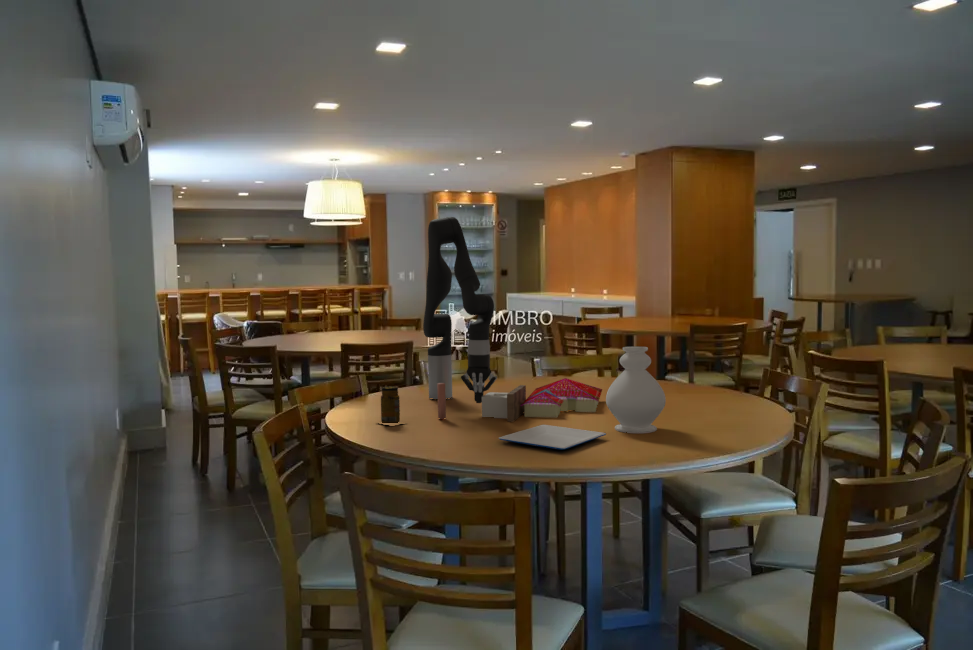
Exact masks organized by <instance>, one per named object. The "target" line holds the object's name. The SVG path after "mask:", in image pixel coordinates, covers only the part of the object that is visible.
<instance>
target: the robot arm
mask: <svg viewBox="0 0 973 650" xmlns="http://www.w3.org/2000/svg"><path fill="white" fill-rule="evenodd" d="M427 240H428V242H427V243H428V245H427V246H428V260H427V261H428V264H427V273H426V274H427V275H426V295H425V296H426V298H425V299H426V301H425V309H424V316H423V326H422V327H423V328H422V331H423V334H424V335H425V337H426V338H430V339H431V338H432V339H433V338H442V339H441V340H440V342H438V343H437V344H435V345H432V346H430V347H429V346H428V347H429V348H427V370H428V371H427V373H428V374H427V375H428V377H427V378H428V399H429V398H433V399H438V389H437V384H438V383H445V398H451V397H452V398H453V367H452V366H453V365H452V363H453V361H452V327H453V326H452V324H453V323H452V317H451V315H450V314H449V313H436V311H437V309H438V308H439V306H440V305H441V303H443V301H444V300H445V299H446V298H447V296H448V295H449V294H450V291H451V290H452V282H453V281H452V280H453V273H452V269H451V268H450V266H449V264H448V263H447V262H446V260H445V259H444V258H443V255H442V253H441V249H442V247H441V246H442V245H447V244H454V246H455V248H456V256H455V260H454V266H453V272H454V276H455V279H456V281H457V283H458V285H459V288H460V293H461V299H462V307H463V309H464V311H465V312H466V314H468V315H470V316H477V318H476V320H475V321H473V322H471V323H469V325H468V342H467V343H468V345H467V369H466V373H464V374H463V375H461V376H460V379H461V381H462V382H463V384H465V386H466V387H467V389H468V390H469V391H472V392H474V400H473V401H474V402H475V403H476V404H482V396H484V392H487V391H489V389H490V388H491V387H492V386H493V384H494V383H495V382H496V380H497V379H498V376H497V375H494V374H493V373H492V370H491V346H490V345H491V344H490V326H491V323H492V319H493V315H494V311H495V303H494V300H493V298H492V296H490V295H489V294H486V293H485V294H484V293H483V294H479V293H478V294H476V292H477V291H478V290H479V289H480V288H481V282H480V278H479V277H478V274H477V272H476V271H475V269H474V266H473V263H472V260H471V257H470V253H469V249H468V246H467V241H466V239H465V236H464V231H463V228H462V226H461V224H460V222H459V220H458V218H456V217H455V216H447V217H442V218H435V219H433V220H432V219H431V220H430V221H429V224H428V229H427ZM488 379H489V381H488V383H487V384H486V385H485V382H487V380H488ZM471 381H472V382H471ZM452 398H451V399H452Z"/></svg>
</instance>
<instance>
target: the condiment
mask: <svg viewBox="0 0 973 650" xmlns="http://www.w3.org/2000/svg"><path fill="white" fill-rule="evenodd" d="M400 401H401V400H400V395H399V388H398V386H393V385H391V386H382V387H381V396H380V418H381V419H380V421H381V422H382V423H398V422H401V421H400V417H401V413H400V412H401V408H400V407H401V406H400Z"/></svg>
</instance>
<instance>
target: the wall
mask: <svg viewBox="0 0 973 650" xmlns="http://www.w3.org/2000/svg"><path fill="white" fill-rule="evenodd" d="M526 388H527V384H524V385H523V384H520V385H518V386H516V387H515V388H514V389H512V390H510V391H509V392H507V393H508V394H507V418H506V419H507V422H510V423H511V422H514V421H516V420H517V419H518V418H519V417H520V416H521V415H523V414H525V408H524V405H523V406H521V405H522V403H523V402H524V401H525V400H526V399H527V389H526Z"/></svg>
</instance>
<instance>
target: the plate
mask: <svg viewBox="0 0 973 650" xmlns="http://www.w3.org/2000/svg"><path fill="white" fill-rule="evenodd" d="M606 435H607V433H605V432H600V431H594V430H589V429H588V430H585V429H579V428H572V427H565V426H558V425H557V426H556V425H550V424H540V425H537V426H533V427H530V428H527V429H523V430H519V431H516V432H513V433H509V434H506V435H503V436H499V437H498V439H499V440H500V441H504V442H510V443H515V444H521V445H528V446H533V447H534V446H535V447H539V448H545V447H546V448H547V449H553V450H558V451H561V450H563V451H565V450H567V449H570V448H573V447H576V446H579V445H581V444H584V443H587V442H591V441H593V440H595V439H598V438H601V437H604V436H606Z"/></svg>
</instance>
